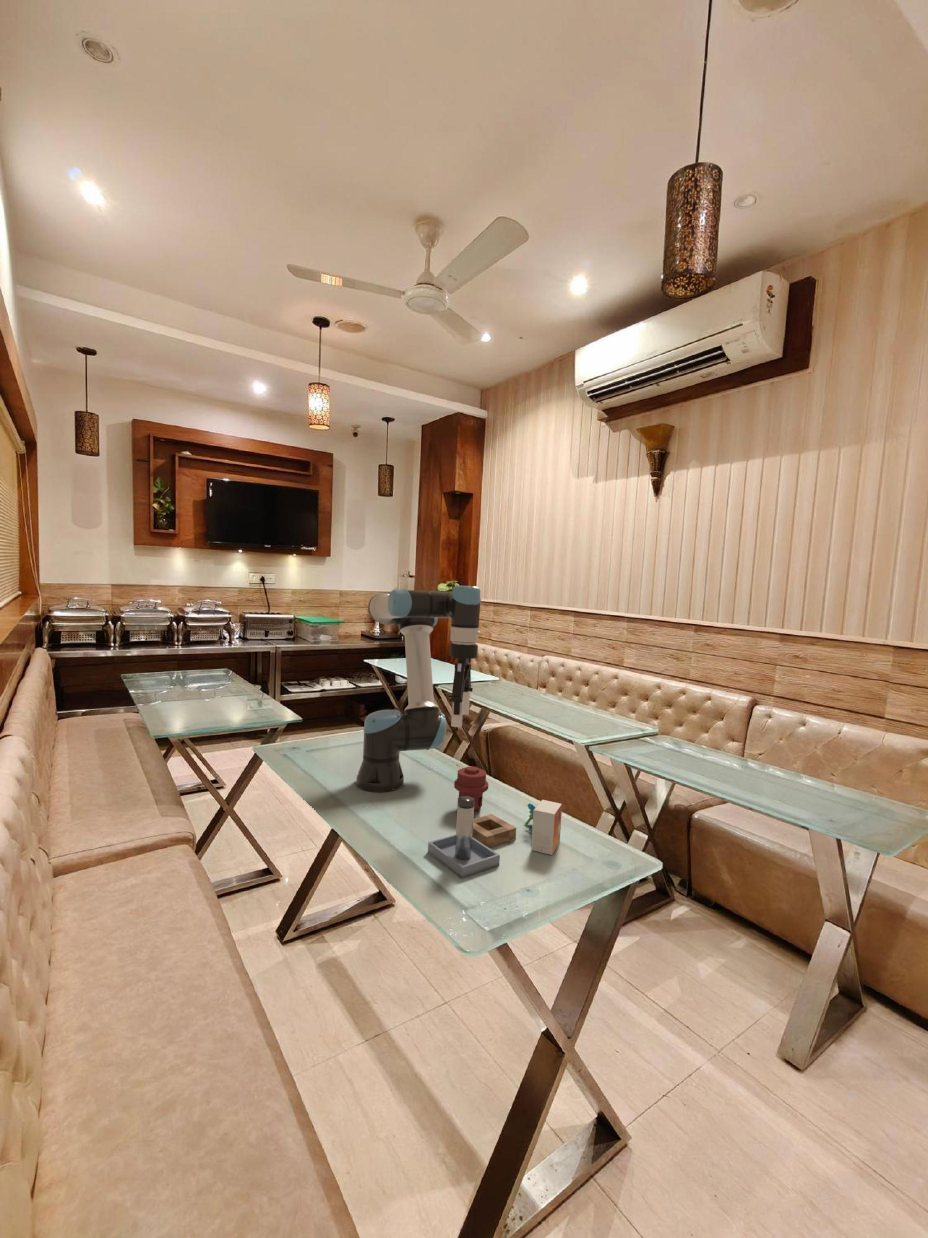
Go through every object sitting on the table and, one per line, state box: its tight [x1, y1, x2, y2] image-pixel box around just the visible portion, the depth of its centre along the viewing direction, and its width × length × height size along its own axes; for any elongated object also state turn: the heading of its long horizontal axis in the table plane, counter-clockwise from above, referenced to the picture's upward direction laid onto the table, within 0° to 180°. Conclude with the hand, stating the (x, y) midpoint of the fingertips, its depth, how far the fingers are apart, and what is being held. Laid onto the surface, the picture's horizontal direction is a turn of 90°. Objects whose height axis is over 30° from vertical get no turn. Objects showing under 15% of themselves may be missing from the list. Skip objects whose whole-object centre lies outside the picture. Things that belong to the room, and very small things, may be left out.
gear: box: [524, 803, 536, 833], centre depth 148 cm, size 11×6×10 cm
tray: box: [427, 833, 501, 879], centre depth 131 cm, size 14×11×2 cm
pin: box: [455, 796, 475, 860], centre depth 131 cm, size 4×4×14 cm
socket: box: [473, 813, 517, 849], centre depth 144 cm, size 10×10×3 cm
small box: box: [530, 799, 563, 856], centre depth 139 cm, size 8×6×10 cm
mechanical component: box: [453, 766, 489, 812], centre depth 160 cm, size 12×10×10 cm
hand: (460, 720), depth 149 cm, fingers open, 13 cm apart
